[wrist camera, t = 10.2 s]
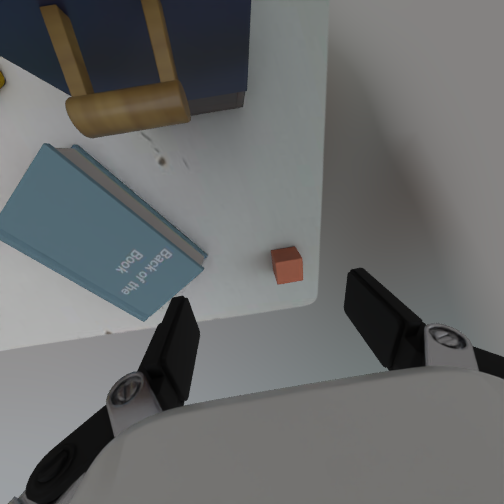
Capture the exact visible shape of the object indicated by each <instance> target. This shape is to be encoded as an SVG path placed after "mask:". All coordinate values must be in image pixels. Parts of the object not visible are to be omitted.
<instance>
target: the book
mask: <svg viewBox="0 0 504 504" xmlns="http://www.w3.org/2000/svg"><path fill="white" fill-rule="evenodd" d="M0 240H1V241H3V242H4V243H6V244H8V245H10V246H11V247H13V248H15V249H17V250H18V251H20V252H22V253H24V254H25V255H27V256H29V257H31V258H32V259H34V260H36V261H38V262H39V263H41V264H43V265H45V266H47V267H48V268H50V269H52V270H54V271H55V272H57V273H59V274H61V275H62V276H64V277H66V278H68V279H69V280H71V281H73V282H75V283H76V284H78V285H80V286H82V287H83V288H85V289H87V290H89V291H90V292H92V293H94V294H96V295H97V296H99V297H101V298H103V299H104V300H106V301H108V302H110V303H112V304H113V305H115V306H117V307H119V308H120V309H122V310H124V311H126V312H127V313H129V314H131V315H133V316H134V317H136V318H138V319H140V320H141V321H143V322H144V321H145V320H147V319H148V317H149V316H151V315H152V314H154V313H155V312H156V311H157V310H158V309H159V308H160V307H162V306H163V305H164V304H165V303H166V302H167V301H169V300H170V299H171V298H172V297H173V296H174V295H176V294H177V293H178V292H179V291H180V290H181V289H182V288H184V287H185V286H186V285H187V284H188V283H189V282H191V281H192V280H193V279H194V278H195V277H196V276H197V275H199V274H200V273H201V272H202V271H203V270H204V267H202V263H203V260H204V259H205V258H206V257H207V254H206V253H205V252H204V251H202V250H201V249H200V248H199V247H198V246H196V245H195V244H194V243H193V242H192V241H191V240H189V239H188V238H187V237H186V236H185V235H183V234H182V233H181V232H180V231H179V230H178V229H176V228H175V227H174V226H173V225H172V224H170V223H169V222H168V221H167V220H166V219H165V218H163V217H162V216H161V215H160V214H159V213H157V212H156V211H155V210H154V209H153V208H152V207H150V206H149V205H148V204H147V203H146V202H144V201H143V200H142V199H141V198H140V197H139V196H137V195H136V194H135V193H134V192H133V191H131V190H130V189H129V188H128V187H127V186H125V185H124V184H123V183H122V182H121V181H120V180H118V179H117V178H116V177H115V176H114V175H112V174H111V173H110V172H109V171H108V170H107V169H105V168H104V167H103V166H102V165H101V164H99V163H98V162H97V161H96V160H95V159H94V158H92V157H91V156H90V155H89V154H88V153H86V152H85V151H84V150H83V149H82V148H81V147H79V146H78V145H73V146H72V147H71V148H54V147H53V146H52V145H50V144H47V143H44V144H43V145H42V147H41V148H40V150H39V152H38V153H37V155H36V157H35V158H34V160H33V161H32V163H31V165H30V166H29V168H28V169H27V171H26V173H25V174H24V176H23V178H22V179H21V181H20V182H19V184H18V186H17V187H16V189H15V190H14V192H13V194H12V195H11V197H10V199H9V200H8V202H7V203H6V205H5V207H4V208H3V210H2V211H1V213H0Z"/></svg>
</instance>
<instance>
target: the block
mask: <svg viewBox="0 0 504 504" xmlns="http://www.w3.org/2000/svg"><path fill="white" fill-rule="evenodd" d="M271 256H272V264H273V271H274V274H275V278H276V281H277V284H284V283H290V282H296V281H301V280H303V262H302V257H301V255H300V254H299V252H298V251H297V249H296V247H295V246H294V247H288V248H283V249H277V250H271Z"/></svg>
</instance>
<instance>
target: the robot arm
mask: <svg viewBox="0 0 504 504" xmlns="http://www.w3.org/2000/svg"><path fill="white" fill-rule="evenodd" d="M344 311H345V313H346V314H347V316H348V317H349V319H350V320H351V322H352V323H353V324H354V326H355V327H356V329H357V330H358V332H359V333H360V334H361V336H362V337H363V339H364V340H365V342H366V343H367V344H368V346H369V347H370V349H371V350H372V351H373V353H374V354H375V356H376V357H377V358H378V360H379V361H380V363H381V364H382V365H383V366H384V367H385V368H386V367H387V368H388V370H389V371H385V372H379V373H372V374H366V375H360V376H354V377H348V378H341V379H335V380H329V381H323V382H317V383H310V384H304V385H298V386H292V387H286V388H281V389H274V390H268V391H263V392H257V393H251V394H245V395H239V396H234V397H228V398H222V399H216V400H211V401H206V402H201V403H195V404H190V405H185V406H184V401H186V400H187V399H188V397H189V391H190V386H191V381H192V375H193V370H194V365H195V359H196V354H197V349H198V344H199V338H200V331H199V328H198V325H197V322H196V320H195V317H194V314H193V311H192V308H191V306H190V303H189V300H188V298H185V297H184V296H179V297H173V298H172V300H171V302H170V304H169V307H168V309H167V311H166V314H165V316H164V318H163V321H162V323H160V324H159V325H158V326H157V328H156V331H155V333H154V335H153V337H152V340H151V342H150V344H149V346H148V349H147V351H146V354H145V355H144V358H143V360H142V362H141V364H140V366H139V369H138V371H137V372H132V373H129V374H127V375H126V376H124V377H122V378H121V379H120V380H119V381H117V382H116V383H115V384H114V386H113V387H112V388H111V390H110V392H109V393H108V396H107V399H106V405H105V406H104V407H103V408H102V409H100V410H99V411H98V412H97V413H95V414H94V415H93V416H92V417H90V418H89V419H88V420H87V421H86V422H84V423H83V424H82V425H81V426H80V427H78V428H77V429H76V430H75V431H74V432H72V433H71V434H70V435H69V436H67V437H66V438H65V439H64V440H63V441H61V442H60V443H59V444H58V445H57V446H55V447H54V448H53V449H52V450H51V451H50V452H49V453H48V454H47V455H46V456H44V458H43V459H42V460H41V461H40V462H39V464H38V465H37V466H36V468H35V469H34V471H33V473H32V474H31V476H30V478H29V481H28V483H27V485H26V490H25V491H24V492H23V493H22V494H21V496H20V497H19V498H17V497H14V498H13V499H12V500H11V501H10V502H9V503H8V504H504V357H502V356H499V355H496V354H493V353H490V352H488V351H485V350H482V349H479V348H476V347H473V346H472V344H471V342H470V340H469V339H468V338H467V337H466V336H465V335H464V334H462V333H461V332H460V331H458V330H456V329H454V328H452V327H450V326H447V325H444V324H438V323H431V324H428V325H426V324H425V323H423V322H422V320H421V319H420V318H419V317H418V316H417V315H416V314H415V313H414V312H412V311H411V310H410V309H409V308H408V307H407V306H405V305H404V304H403V303H402V302H401V301H400V300H399V299H398V298H396V297H395V296H394V295H393V294H392V293H391V292H390V291H389V290H387V289H386V288H385V287H384V286H383V285H382V284H381V283H379V282H378V281H377V280H376V279H375V278H374V277H372V276H371V275H370V274H369V273H368V272H367V271H366V270H365V269H363V268H357V269H352V270H351V271H350V272H349V273H348V276H347V285H346V293H345V301H344Z"/></svg>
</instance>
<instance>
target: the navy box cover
mask: <svg viewBox="0 0 504 504" xmlns="http://www.w3.org/2000/svg"><path fill="white" fill-rule="evenodd" d="M250 15H251V0H0V56H2V57H3V58H5V59H7V60H9V61H10V62H12V63H14V64H16V65H17V66H19V67H21V68H23V69H24V70H26V71H28V72H30V73H31V74H33V75H35V76H37V77H38V78H40V79H42V80H44V81H45V82H47V83H49V84H51V85H52V86H54V87H56V88H58V89H59V90H61V91H63V92H65V93H66V94H68V95H70V96H72V97H69V98H68V99H67V100H66V103H65V106H66V110H67V113H68V116H69V118H70V119H71V121H72V123H73V124H74V126H75V127H76V128H77V129H78V130H79V131H80V132H81V133H82V134H83V135H84V136H86V137H89V138H97V137H103V136H109V135H116V134H122V133H128V132H134V131H140V130H146V129H152V128H158V127H164V126H170V125H176V124H182V123H188V122H190V121H191V115H190V109H189V105H188V100H194V99H200V98H206V97H212V96H218V95H224V94H230V93H237V92H243V91H247V81H248V59H249V37H250Z"/></svg>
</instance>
